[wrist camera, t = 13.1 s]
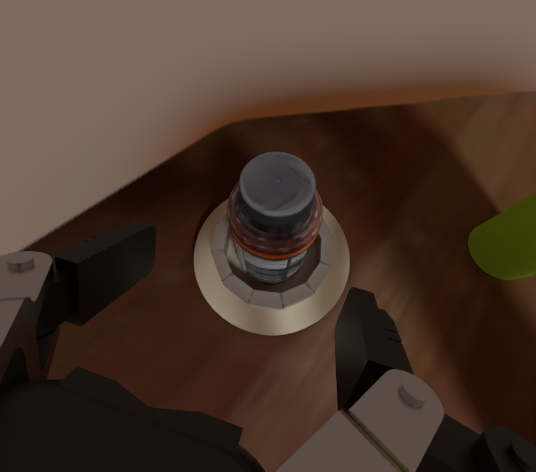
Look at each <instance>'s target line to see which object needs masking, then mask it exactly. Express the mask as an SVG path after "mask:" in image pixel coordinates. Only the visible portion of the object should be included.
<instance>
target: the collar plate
mask: <svg viewBox="0 0 536 472" xmlns="http://www.w3.org/2000/svg"><path fill="white" fill-rule="evenodd" d="M228 200H229V198H228V199H227V200H225V201H224V202H223V203H221V204H220V205H219V206H218V207H217V208H216V209H215V210H214V211H213V212H212V213H211V214H210V215H209V217H208V218H207V219H206V221H205V222H204V224H203V226H202V228H201V230H200V232H199V234H198V237H197V240H196V244H195V250H194V269H195V275H196V279H197V282H198V285H199V287H200V290H201V292H202V293H203V295H204V297H205V299H206V300H207V302H208V303H209V304H210V305H211V307H212V308H213V309H214V310H215V311H216V312H217V313H218V314H219V315H220V316H221V317H223V318H224V319H225V320H227V321H228V322H229V323H231V324H232V325H234V326H236V327H238V328H240V329H242V330H245V331H248V332H251V333H255V334H260V335H271V336H275V335H285V334H289V333H294V332H297V331H299V330H302V329H304V328H306V327H308V326H310V325H312V324H314V323H315V322H317V321H318V320H320V319H321V318H322V317H324V316H325V315H326V314H327V313H328V312H329V311H330V310H331V309H332V308H333V307H334V305H335V304H336V302H337V301H338V300H339V298H340V296H341V294H342V292H343V291H344V288H345V285H346V282H347V279H348V274H349V265H350V258H349V249H348V244H347V241H346V238H345V235H344V233H343V231H342V229H341V227H340V225H339V223H338V222H337V220H336V219H335V218H334V216H333V215H332V214H331V213H330V212H329V211H328V210H327V209H326V208H325V207H324V206H323V205H322V206H323V218H322V223H321V227H320V230H319V232H318V234H317V236H316V238H315V240H314V242H313V244H312V247H311V249H310V251H309V253H308V255H307V257H306V259H305V261H304V263H303V265H302V267H301V269H300V270H299V271H298V272H297V273H296V275H295V276H293V277H292V278H291V279H289V280H287V281H285V282H283V283H280V284H264V283H260V282H258V281H255V280H254V279H252V278H251V277H249V276H248V275H247V274H246V272H245V271H244V270H243V268H242V266H241V264H240V262H239V260H238V257H237V254H236V253H235V251H236V249H235V246H234V242H233V238H232V234H231V230H230V225H229V222H228V216H227V204H228Z"/></svg>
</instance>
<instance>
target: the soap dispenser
mask: <svg viewBox="0 0 536 472" xmlns="http://www.w3.org/2000/svg"><path fill="white" fill-rule="evenodd" d="M468 249H469V252H470V255H471V257H472V259H473V260H474V262H475V263H476V264H477V265H478V266H479V267H480V268H481V269H482V270H483V271H484V272H486V273H487V274H489V275H491V276H493V277H495V278H498V279H502V280H516V279H520V278H523V277H527V276H530V275H534V274H536V193H535V194H533V195H531V196H530V197H528V198H526V199H524V200H523V201H521V202H519V203H517V204H516V205H514V206H512V207H510V208H509V209H507V210H505V211H503V212H502V213H500V214H498V215H496V216H495V217H493V218H491V219H490V220H488V221H486V222H484V223H483V224H481V225H479V226H477V227H476V228H474V229H473V230H472V231H471V233H470V234H469V237H468Z"/></svg>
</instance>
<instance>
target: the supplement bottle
mask: <svg viewBox="0 0 536 472" xmlns="http://www.w3.org/2000/svg"><path fill="white" fill-rule="evenodd" d="M227 216H228V222H229V225H230V230H231V234H232V238H233V242H234V246H235V249H236V251H235V253H236V254H237V257H238V260H239V262H240V264H241V266H242V268H243V270H244V271H245V272H246V274H247V275H248V276H249V277H251V278H252V279H254V280H255V281H258V282H260V283H264V284H280V283H283V282H285V281H287V280H289V279H291V278H292V277H293V276H295V275H296V273H297V272H298V271H299V270H300V269H301V267H302V265H303V263H304V261H305V259H306V257H307V255H308V253H309V251H310V249H311V247H312V244H313V242H314V240H315V238H316V236H317V234H318V232H319V230H320V227H321V223H322V218H323V206H322V201H321V198H320V195H319V193H318V191H317V190H316V182H315V177H314V174H313V172H312V170H311V169H310V167H309V166H308V165H307V164H306V163H305V162H304V161H303V160H301V159H300V158H298V157H296V156H294V155H291V154H289V153H285V152H267V153H264V154H261V155H258V156H257V157H255V158H253V159H252V160H250V161H249V162H248V163H247V164H246V166H245V167H244V169H243V170H242V173H241V175H240V179H239V182H238V183H237V184H236V186H235V187H234V189H233V190H232V192H231V194H230V197H229V200H228V204H227Z"/></svg>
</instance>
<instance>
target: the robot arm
mask: <svg viewBox="0 0 536 472" xmlns="http://www.w3.org/2000/svg"><path fill="white" fill-rule="evenodd" d="M155 245H156V229H155V227H154V226H151V225H147V224H144V223H141V222H137V221H134V222H131V223H129V224H127V225H125V226H122V227H120V228H118V229H114V230H109V231H104V232H102V233H100V234H97V235H95V236H93V238H92V237H90V238H88V239H86V240H84V241H83V242H79V243H76V244H74V245H72V246H69V247H67V248H64V249H62V250H60V251H57V252H55V253H53V254H50V255H47V254H45V253H41V252H34V251H24V252H15V253H10V254H6V255H2V256H0V472H265V470H264V469H263V468H262V466H261V465H260V464H259V463H258V461H257V460H256V459H255V458H254V457H253V456H252V455H251V454H250V453H249V452H248V451H247V450H246V449H244V448H243V447H242V446H241V445H239V441H240V437H241V433H242V430H243V428H241V427H239V426H236V425H233V424H231V423H228V422H225V421H222V420H220V419H217V418H214V417H212V416H209V415H206V414H204V413H201V412H192V411H181V410H169V409H158V408H151V407H149V406H147V405H145V404H144V403H143V402H142V401H140V400H139V399H138V398H137V397H135V396H134V395H133V394H132V393H130V392H129V391H128V390H127V389H125V388H124V387H123V386H122V385H120V384H119V383H118V382H117V381H115V380H112V379H109V378H107V377H104V376H101V375H99V374H96V373H93V372H91V371H88V370H85V369H82V368H80V367H76V368H75V369H74V370H73V371H71V372H70V373H69V374H68V375H67V376H66V377H65V378H64V379H63V380H47V377H48V373H49V370H50V366H51V362H52V359H53V355H54V351H55V348H56V344H57V340H58V337H59V332H60V330H59V325H60V324H62V323H63V322H64V321H66V322H69V323H72V324H75V325H78V326H80V327H81V326H82V325H83V324H85V323H86V322H87V321H89V320H90V319H91V318H92V317H94V316H95V315H96V314H98V313H99V312H100V311H102V310H103V309H104V308H105V307H107V306H108V305H109V304H111V303H112V302H113V301H114V300H116V299H117V298H118V297H120V296H121V295H122V294H123V293H125V292H126V291H127V290H129V289H130V288H131V287H133V286H134V285H135V284H136V283H138V282H139V281H140V280H142V279H143V278H144V277H145V276H147V275H148V274H149V273H150V271H151V269H152V267H153V265H154V260H155ZM334 338H335V359H336V380H337V401H338V412H337V413H336V414H335V415H334V416H333V417H332V418H331V419H330V420H328V421H327V422H326V423H325V424H324V425H323V426H322V427H321V428H320V429H319V430H318V431H317V432H316V433H315V434H314V435H313V436H312V437H311V438H310V439H309V440H308V441H307V442H306V443H305V444H304V445H303V446H302V447H301V448H300V449H299V450H298V451H297V452H296V453H295V454H294V455H293V456H292V457H290V458H289V459H288V460H287V461H286V462H285V463H284V464H283V465H282V466H281V467H280V468H279V469H278V470H277V471H276V472H536V446H534V445H533V444H532V443H531V442H529V441H528V440H527V439H525V438H524V437H522V436H521V435H519V434H518V433H516V432H514V431H512V430H510V429H508V428H505V427H502V426H498V425H491V426H488V427H487V428H486V429H485V431H484V432H483V433H482V434H481V435H480V434H478V433H476V432H475V431H473V430H471V429H469V428H468V427H466V426H464V425H463V424H461V423H459V422H458V421H456V420H454V419H453V418H451V417H449V416H448V415H446V414H445V413H444V410H443V406H442V404H441V402H440V400H439V398H438V397H437V395H436V394H435V393H434V392H433V390H432V389H431V388H430V387H429V386H428V385H427V384H425V383H424V382H423V381H422V380H420V379H419V378H418V377H416V376H414V374H413V371H412V368H411V366H410V363H409V360H408V358H407V355H406V352H405V350H404V347H403V344H401V339H400V336H399V334H398V331H397V328H396V326H395V323H394V321H393V320H392V318H391V317H390V316H389V315H388V314H387V313H386V311H385V310H382V309H379V308H378V306H377V303H376V300H375V297H374V294H373V293H372V292H368V291H365V290H362V289H358V288H355V287H352V288H351V289H350V291H349V293H348V295H347V298H346V300H345V303H344V305H343V308H342V310H341V312H340V315H339V317H338V320H337V323H336V327H335V334H334Z"/></svg>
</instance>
